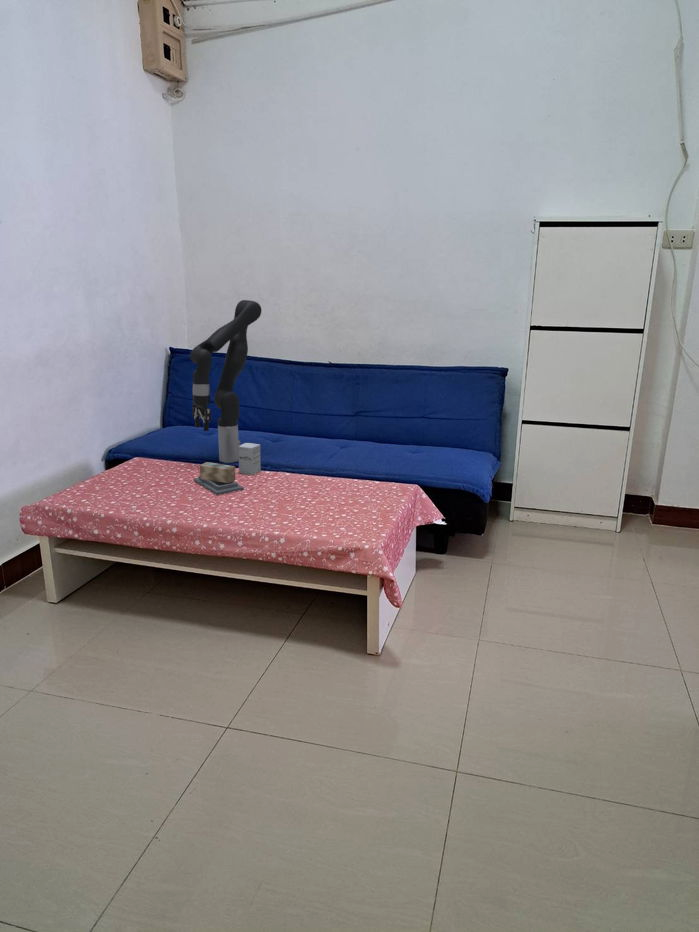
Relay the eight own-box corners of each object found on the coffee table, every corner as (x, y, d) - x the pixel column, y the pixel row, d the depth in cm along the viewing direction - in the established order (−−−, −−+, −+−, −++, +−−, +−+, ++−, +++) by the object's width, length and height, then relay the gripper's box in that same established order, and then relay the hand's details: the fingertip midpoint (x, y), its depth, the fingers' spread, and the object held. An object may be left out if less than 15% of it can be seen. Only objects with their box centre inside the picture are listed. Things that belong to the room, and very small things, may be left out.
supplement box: (238, 473, 293) (237, 446, 289) (247, 468, 299) (246, 442, 296) (253, 475, 290) (252, 447, 287) (261, 471, 297) (260, 443, 293)
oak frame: (200, 478, 276) (199, 464, 274) (207, 475, 280) (206, 461, 279) (228, 483, 271) (228, 469, 269) (235, 479, 275) (234, 465, 273)
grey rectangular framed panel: (193, 481, 281) (193, 475, 281) (219, 476, 288) (219, 470, 287) (216, 495, 265) (216, 489, 264) (243, 489, 272) (243, 483, 271)
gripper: (216, 395, 291) (216, 431, 296) (201, 390, 302) (202, 425, 306) (200, 396, 287) (201, 433, 291) (186, 391, 297) (187, 426, 302)
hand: (201, 429), depth 299 cm, fingers open, 8 cm apart
